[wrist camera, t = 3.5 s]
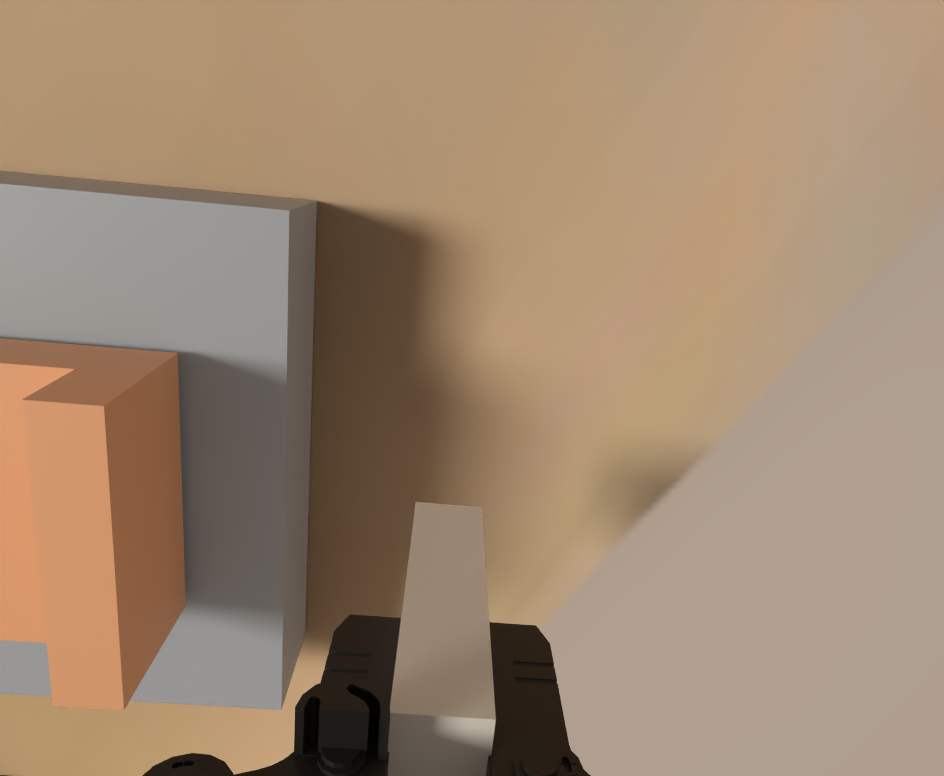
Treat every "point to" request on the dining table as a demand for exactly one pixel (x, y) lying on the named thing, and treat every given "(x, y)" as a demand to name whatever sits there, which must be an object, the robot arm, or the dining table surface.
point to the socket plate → (191, 399)
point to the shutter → (90, 512)
